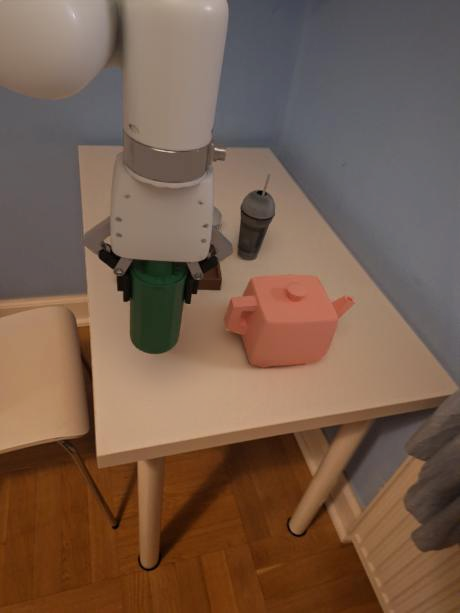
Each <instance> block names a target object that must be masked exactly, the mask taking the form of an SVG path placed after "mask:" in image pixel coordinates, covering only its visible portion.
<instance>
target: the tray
mask: <svg viewBox="0 0 460 613" xmlns="http://www.w3.org/2000/svg"><path fill="white" fill-rule="evenodd" d="M214 248H215V247H214V246H213V245H212V244H211V243H210V248H209V250H214ZM220 263H221V262H218V265H217V266H216V267H214V268H212V269H211V270H209V271H208V272H206V273H204V274H203V278H202V279H200V280H199V284H198V290H199V291H221V288H222V283H223V277H222V271H221V264H220ZM198 290H197V291H198Z"/></svg>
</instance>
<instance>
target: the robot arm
mask: <svg viewBox="0 0 460 613" xmlns="http://www.w3.org/2000/svg"><path fill="white" fill-rule="evenodd" d="M229 17H230V10H229V4H228V0H0V86H1V87H3V88H4V89H7V90H9V91H12V92H13V93H17V94H20V95H23V96H26V97H28V98H32V99H37V100H45V101H54V100H55V101H57V100H63V99H67V98H70V97H72V96H75V95H77V94H78V93H79V92H81V91H82V90H83V89H85V88H86V87H87V86H88V85H89V84H90V83H92V81H93V80H94V79H95V78H96V77H97V75H98V74H99V73H101V71H103V70H105V69H109V68H112V67H117V68H118V69H120V71H121V73H122V74H121V75H122V76H121V77H122V81H121V82H122V83H121V84H122V151H120V152H119V153H117V155H116V156H115V160H114V164H113V171H112V178H111V190H110V191H111V192H110V214H109V216H107V217H106V218H104V219H103V220H102V221H100V222H99V223H97V224H96V225H95V226H93V227H92V228H90V229H89V230H87V231H86V232H85V233H84V234H83V238H82V245H83V246H84V247H85V248H86V249H88V250H89V251H90V252H92V253H93V254H94V255H96V256H97V257H98V259H99V260H100V261H101V262H102V263H104V264H105V265H107V266H108V267H109V268H110V269H112V271H113V272H112V273H113V274H114V275H115V276H116V291H117V292H122V302H123V303H129V302H130V264H131V263H132V261H133V259H140V260H156V261H174V262H186V263H187V265H188V276H187V282H186V290H185V298H184V304H186V305H191V304H192V298H193V295H198V284H199V280H200V279H202V278H203V274H204V273H206V272H208V271H209V270H211V269H212V268H214V267H216V266H217V265H218V262H219V263H221V262H223V261H224V260H226V259H227V258H229V257H231V256H232V255H233V254H234V248H233V244H232V242H231V241H230V240H229V239H228V238H227V237H226V236H225V235H224V234H223V233H222V232H221V231H220V230H219V228H218V229H217V228H216V227H215V226H214V225H213V224H212V222H213V210H214V207H215V205H214V204H215V203H214V202H215V173H214V172H215V171H214V166H213V165H212V164H213V162H217V161H220V162H225V160H226V155H227V146H226V145H222V144H219V143H218V142H215V141H214V138H213V132H214V124H215V117H216V110H217V104H218V96H219V89H220V83H221V76H222V69H223V62H224V56H225V49H226V41H227V35H228V28H229V26H228V25H229ZM108 238H110V243H107V242H105V240H106V239H108ZM210 243H211V244H212V245H213V246H214V247H215V248H214V250H209V248H210Z"/></svg>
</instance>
